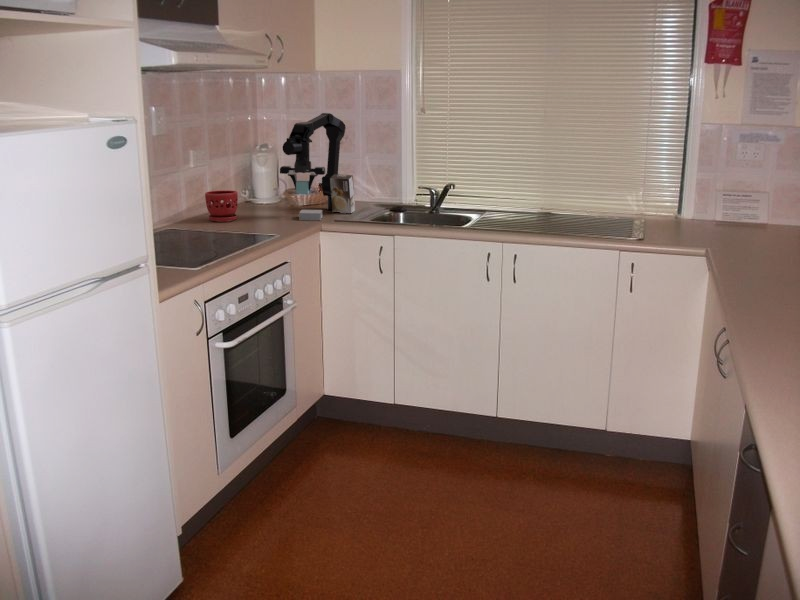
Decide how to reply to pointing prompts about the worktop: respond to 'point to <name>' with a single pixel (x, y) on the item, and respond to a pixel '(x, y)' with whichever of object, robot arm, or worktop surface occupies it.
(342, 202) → the coffee box
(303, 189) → the teal cube
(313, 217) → the stone plinth
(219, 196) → the plant pot
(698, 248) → the worktop surface
